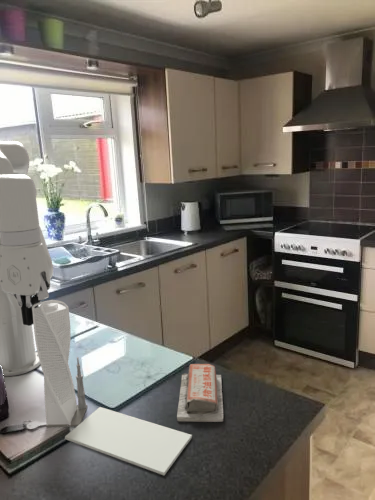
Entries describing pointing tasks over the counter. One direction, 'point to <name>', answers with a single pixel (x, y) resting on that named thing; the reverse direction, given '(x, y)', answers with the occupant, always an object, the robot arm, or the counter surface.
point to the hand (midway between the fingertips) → (31, 322)
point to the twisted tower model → (57, 365)
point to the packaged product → (200, 395)
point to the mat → (130, 439)
